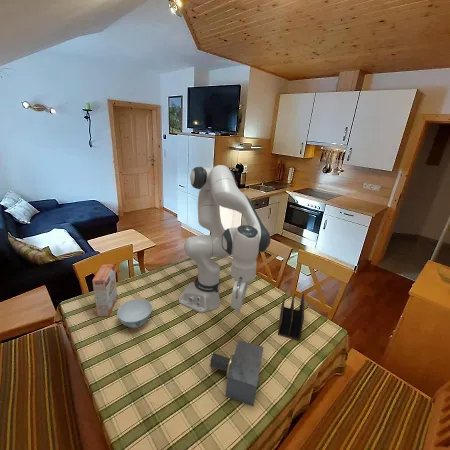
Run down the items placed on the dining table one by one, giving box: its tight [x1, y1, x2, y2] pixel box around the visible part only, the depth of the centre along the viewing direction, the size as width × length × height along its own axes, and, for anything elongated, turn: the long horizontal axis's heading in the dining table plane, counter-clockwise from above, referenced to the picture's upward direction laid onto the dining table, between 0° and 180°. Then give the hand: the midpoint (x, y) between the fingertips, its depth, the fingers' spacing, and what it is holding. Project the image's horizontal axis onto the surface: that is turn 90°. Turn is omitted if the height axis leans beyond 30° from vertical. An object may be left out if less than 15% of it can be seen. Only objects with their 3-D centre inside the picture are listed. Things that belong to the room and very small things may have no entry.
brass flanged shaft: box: [209, 352, 234, 377], centre depth 88 cm, size 15×7×7 cm, turn 74°
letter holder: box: [277, 292, 305, 342], centre depth 115 cm, size 10×20×14 cm, turn 163°
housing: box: [225, 339, 264, 407], centre depth 87 cm, size 10×16×10 cm, turn 164°
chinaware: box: [116, 298, 153, 329], centre depth 109 cm, size 15×15×8 cm
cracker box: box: [91, 263, 118, 318], centre depth 115 cm, size 14×6×21 cm, turn 8°
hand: (239, 303), depth 88 cm, fingers open, 8 cm apart
